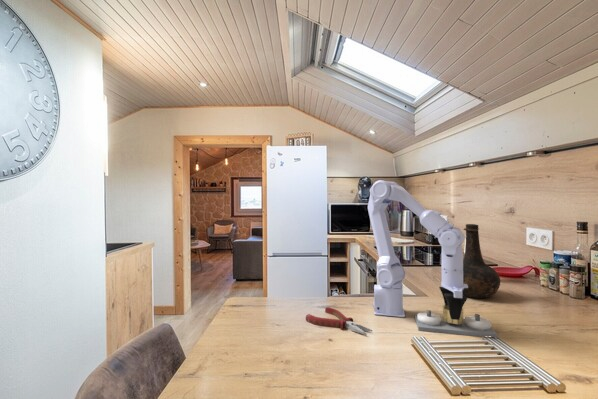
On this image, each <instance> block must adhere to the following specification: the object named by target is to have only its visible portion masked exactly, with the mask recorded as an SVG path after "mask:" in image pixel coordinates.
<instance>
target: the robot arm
mask: <svg viewBox="0 0 598 399" xmlns="http://www.w3.org/2000/svg"><path fill="white" fill-rule="evenodd" d="M393 201H394V202H400V203H401V204H402V205H404V207H406V208H407V209H408V210H410V211H411V212H412V213H414V214H415V215H416V216H417V217H418V218H419V223H420V225H422V226H423V227H424V228H425V229H426V230H427V231H428V232H430V233H431V235H432V236H434V237H435V238H437V241H438V243H439V245H440V247H441V254H440V255H441V260H440V261H441V269H440V270H441V282H440V286H439V290H440V292H441V295H442V298H443V302H444V305H448V307H449V313H450V317H451V319H455V320H459V319H460V315H461V311H462V308H463V307H464V305H465V303H466V302H467V300H468V297H467V296H464V295H462V291H463V289H464V288H468V285H467V284H463V260H464V254H463V252H464V251H463V250H464V249H463V244H464V243H465V238H466V236H465V234H464V232H463V231H462V230H461V228H459V227H457V226H456V227H455V225H454V224H453V223H452V222H449V221H447V219H446V218H444V217H443V216H441V215H442V213H441V212H440V211H437V210H436V211H435V209H430V210H429V209H427V208H425V207H424V206H423V204H421V203H420V201H418V200H417V199H416V198H415V197H414V196H412V194H411V193H409V192H408V191H407V190H406V189H405V188H404V187H403V186H401V185H400V184H398V183H397V182H396V181H388V180H383V179H382V180H381V179H379V180H376V181H375V182H374V183H373V184H372V186H370V188H369V199H368V203H367V211H368V216H369V221H370V225H371V229H372V233H373V237H374V238H373V239H374V242H375V245H376V252H377V254H378V260H377V263H376V267H377V268H376V269H377V271H376V280H377V282H378V284H374V286H373V289H374V290H373V301H372V302H373V303H372V304H373V305H372V307H373V308H374V310H373V311H374V312H373V313H374V315H377V316H388V317H398V318H399V317H400V318H405V317H406V314H405V309H404V307H403V305H404V304H403V303H404V301H403V300H404V297H403V296H404V294H403V293H404V292H403V291H404V289H403V281H404V280H405V277H406V270H405V268H404V266H402V264H401V261H400V258H398V257H397V255H396V253H395V248H394V245H393V241H392V236H391V233H390V228H389V223H388V220H387V216H386V212H385V210H386V209H387V207H388V206H389V204H390V203H392V202H393Z"/></svg>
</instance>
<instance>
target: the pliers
mask: <svg viewBox="0 0 598 399" xmlns="http://www.w3.org/2000/svg"><path fill="white" fill-rule="evenodd" d="M324 312H325V314H328V315H332V316H334V317H336V318H337V319H336V318H329V317H326V318H325V317H319V316H315V315H312V314H311V313H310V314H309V313H308V314H306V316H305V321H306V322H308V323H310V324H312V325H315V326H316V325H317V326H320V327H321V326H322V327H329V328H331V327H332V328H339V329H340V331H343V330H344V329H347V330H349V331H351V332H354V333H358V334H361V335H366V336H367V332H371V333H372V332H373V330H372V329H370V328H368V327H366V326H364V325H362V324H360V323H358V322H354V318H353V317H347V316H345V315H344V314H343V313H342V312H341V311H340V310H338V309H336V308H334V307H333V308H332V307H328V306H327V307H325V311H324Z"/></svg>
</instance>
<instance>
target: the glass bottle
mask: <svg viewBox="0 0 598 399" xmlns="http://www.w3.org/2000/svg"><path fill="white" fill-rule="evenodd" d="M463 231H465V238H466V245H465V244H464V249H465V253H464V254H463V284H467V285H468V288H464V289H463V291H462V296H466V297H467V298H473V299H485V298H489V297H492V296H493V295H495V294H496V293H497V292H498V290H499V288H500V286H501V277H500V275H499V273H498V272H497V271H496V270H495V269H494V268H493V267H491V266H490V265H487V264H486V262H485V260H484V259H483V255H482V250H481V245H480V235H479V225H478V224H474V223H467V224H465V227H464V228H463Z"/></svg>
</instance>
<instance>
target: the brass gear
mask: <svg viewBox="0 0 598 399" xmlns="http://www.w3.org/2000/svg"><path fill="white" fill-rule="evenodd" d="M441 310H442V311H441V312H442V314H441V315H442V316H441V317H442V319H443V320H444V321H446V322H448V323H453V324H462V323H463V322H464V319H465V316H464V308H463V307H462V311H461V315H460V319H459V320H455V319H451V317H450V313H449V307H448V305H445V304H444V305H442V308H441Z"/></svg>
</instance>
